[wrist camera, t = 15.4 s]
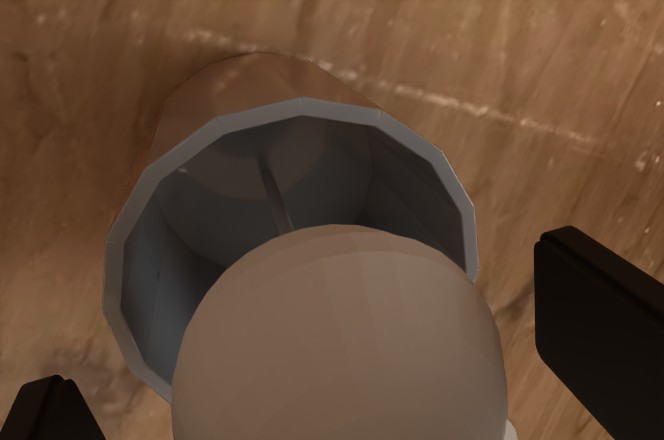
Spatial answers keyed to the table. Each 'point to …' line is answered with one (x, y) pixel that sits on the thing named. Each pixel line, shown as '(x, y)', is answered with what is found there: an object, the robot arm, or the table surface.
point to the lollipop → (340, 343)
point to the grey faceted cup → (261, 192)
